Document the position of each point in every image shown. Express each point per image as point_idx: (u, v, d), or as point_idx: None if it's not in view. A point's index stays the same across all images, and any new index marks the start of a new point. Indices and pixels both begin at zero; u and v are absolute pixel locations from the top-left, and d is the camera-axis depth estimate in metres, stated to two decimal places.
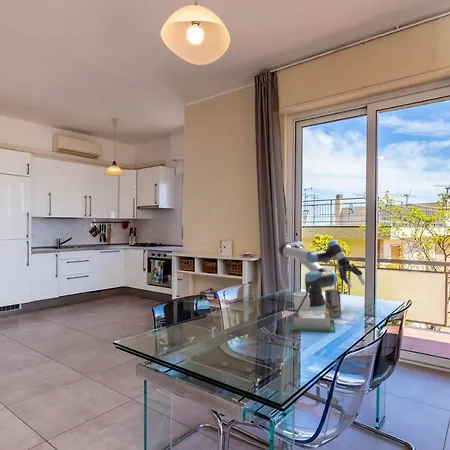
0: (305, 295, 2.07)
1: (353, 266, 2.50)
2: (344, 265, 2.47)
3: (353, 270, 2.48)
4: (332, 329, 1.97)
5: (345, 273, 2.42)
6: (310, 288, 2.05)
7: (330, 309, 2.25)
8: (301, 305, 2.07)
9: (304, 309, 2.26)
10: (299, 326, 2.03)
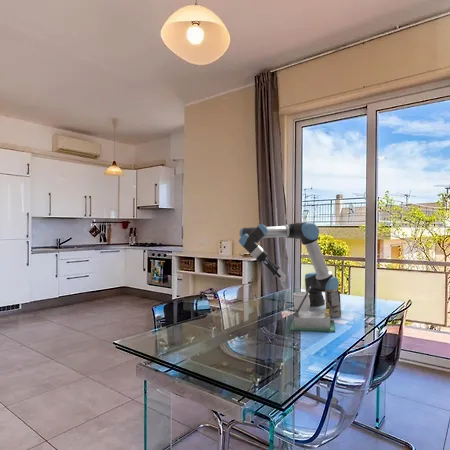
0: (305, 295, 2.07)
1: (266, 264, 2.08)
2: None
3: None
4: (332, 329, 1.97)
5: None
6: (310, 288, 2.05)
7: (330, 309, 2.25)
8: (301, 305, 2.07)
9: (304, 309, 2.26)
10: (299, 326, 2.03)
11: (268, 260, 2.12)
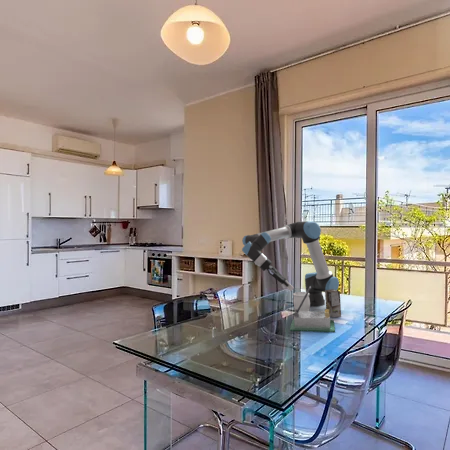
0: (305, 295, 2.07)
1: None
2: None
3: None
4: (332, 329, 1.97)
5: None
6: (310, 288, 2.05)
7: (330, 309, 2.25)
8: (301, 305, 2.07)
9: (304, 309, 2.26)
10: (299, 326, 2.03)
11: (272, 268, 2.12)
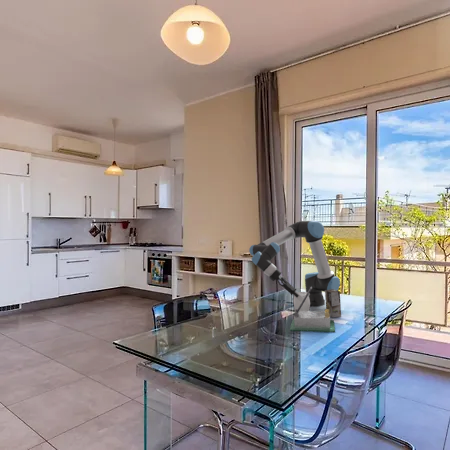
0: (306, 295, 2.07)
1: None
2: None
3: None
4: (332, 329, 1.97)
5: None
6: (311, 289, 2.05)
7: (330, 309, 2.25)
8: (301, 305, 2.07)
9: (304, 309, 2.26)
10: (299, 326, 2.03)
11: (282, 279, 2.09)
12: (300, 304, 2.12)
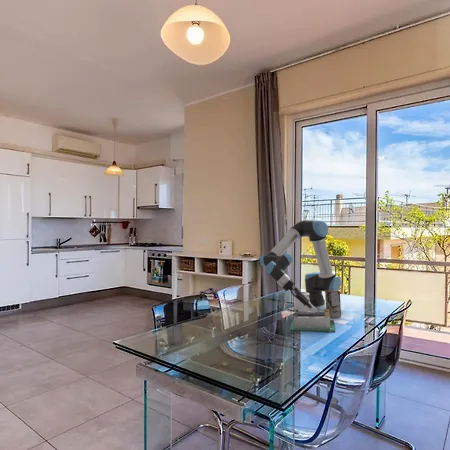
0: (318, 314, 2.05)
1: None
2: None
3: None
4: (332, 329, 1.97)
5: None
6: None
7: (330, 309, 2.25)
8: (306, 314, 2.06)
9: (304, 309, 2.26)
10: (299, 326, 2.03)
11: (295, 289, 2.08)
12: None
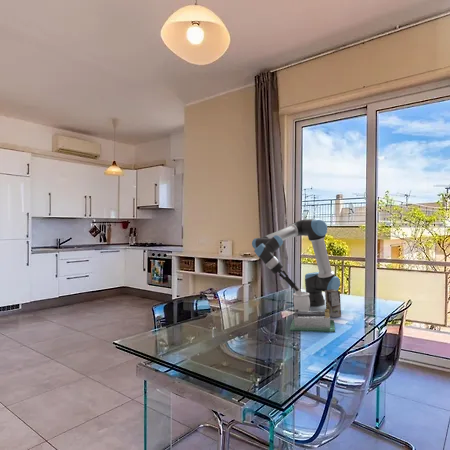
0: (318, 314, 2.05)
1: None
2: (278, 272, 2.16)
3: (285, 279, 2.12)
4: (332, 329, 1.97)
5: (287, 282, 2.14)
6: None
7: (330, 309, 2.25)
8: (306, 314, 2.06)
9: (304, 309, 2.26)
10: (299, 326, 2.03)
11: (284, 272, 2.11)
12: None
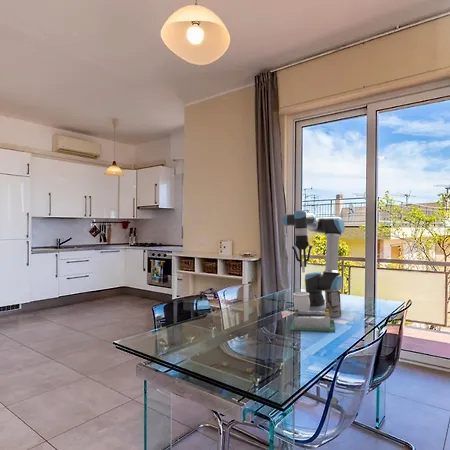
0: (318, 314, 2.05)
1: (309, 248, 2.19)
2: (297, 243, 2.20)
3: None
4: (332, 329, 1.97)
5: (300, 255, 2.20)
6: None
7: (330, 309, 2.25)
8: (306, 314, 2.06)
9: (304, 309, 2.26)
10: (299, 326, 2.03)
11: None
12: None
